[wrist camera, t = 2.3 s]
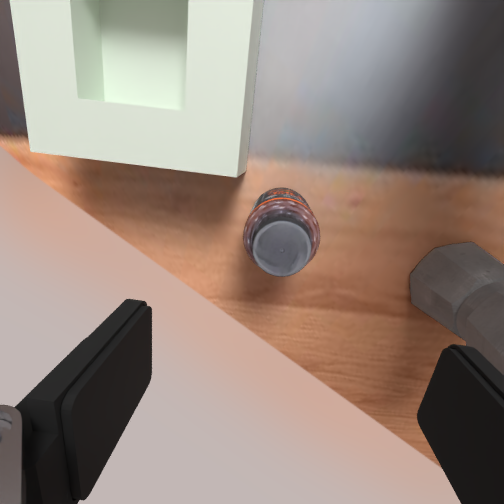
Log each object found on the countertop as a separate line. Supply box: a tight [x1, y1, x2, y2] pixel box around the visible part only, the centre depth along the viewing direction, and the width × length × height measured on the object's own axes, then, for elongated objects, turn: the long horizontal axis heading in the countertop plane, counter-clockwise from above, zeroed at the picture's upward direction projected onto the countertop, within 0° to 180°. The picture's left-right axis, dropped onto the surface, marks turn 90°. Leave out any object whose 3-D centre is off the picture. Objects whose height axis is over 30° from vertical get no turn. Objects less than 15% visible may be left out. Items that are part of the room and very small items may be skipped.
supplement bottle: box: [243, 188, 320, 277], centre depth 25 cm, size 6×6×11 cm
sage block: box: [10, 0, 264, 177], centre depth 23 cm, size 16×16×8 cm
